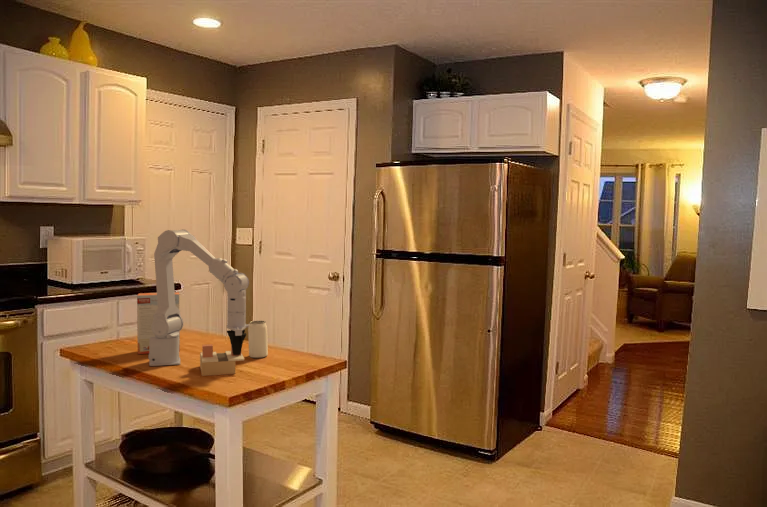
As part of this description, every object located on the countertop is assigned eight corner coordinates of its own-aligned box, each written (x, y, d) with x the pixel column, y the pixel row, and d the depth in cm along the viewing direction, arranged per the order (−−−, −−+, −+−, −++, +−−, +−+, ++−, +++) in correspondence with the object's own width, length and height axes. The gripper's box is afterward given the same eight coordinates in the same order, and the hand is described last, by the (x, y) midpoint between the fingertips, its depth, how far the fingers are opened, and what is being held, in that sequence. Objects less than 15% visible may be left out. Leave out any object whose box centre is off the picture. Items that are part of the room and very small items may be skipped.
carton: (201, 375, 186) (201, 362, 185) (200, 366, 197) (200, 353, 197) (235, 373, 189) (235, 361, 189) (231, 364, 200) (231, 352, 200)
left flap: (202, 362, 186) (202, 349, 185) (200, 353, 197) (200, 341, 196) (218, 361, 187) (218, 348, 187) (215, 353, 198) (215, 341, 198)
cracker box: (179, 348, 220) (179, 291, 219) (179, 352, 215) (179, 293, 213) (138, 350, 216) (138, 292, 215) (137, 354, 210) (136, 294, 209)
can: (253, 353, 216) (252, 320, 215) (270, 354, 215) (269, 320, 214) (246, 358, 209) (244, 323, 209) (263, 358, 208) (262, 323, 208)
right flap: (228, 361, 188) (228, 348, 188) (225, 352, 199) (225, 340, 199) (244, 360, 190) (244, 347, 190) (240, 351, 201) (240, 339, 200)
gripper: (252, 314, 188) (251, 358, 189) (246, 307, 202) (246, 347, 203) (228, 315, 186) (228, 359, 187) (224, 308, 200) (224, 349, 200)
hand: (236, 353), depth 195 cm, fingers closed on right flap, 2 cm apart
